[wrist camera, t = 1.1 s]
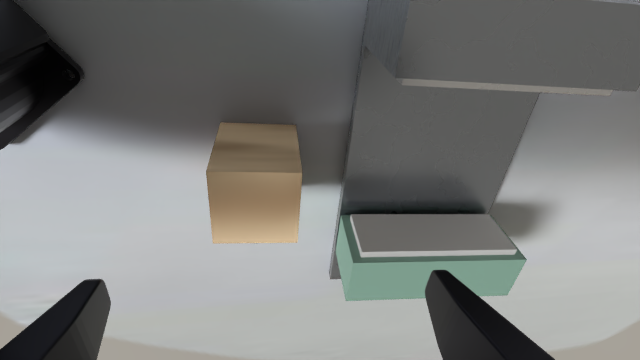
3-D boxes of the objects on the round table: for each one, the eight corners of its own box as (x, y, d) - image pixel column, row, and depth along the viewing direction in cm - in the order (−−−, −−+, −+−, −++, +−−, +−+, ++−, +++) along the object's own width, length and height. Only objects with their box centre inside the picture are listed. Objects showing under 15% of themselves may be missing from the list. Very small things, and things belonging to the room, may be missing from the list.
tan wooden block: (292, 185, 22) (297, 242, 18) (224, 184, 21) (213, 243, 17) (295, 124, 20) (302, 173, 16) (220, 122, 19) (206, 171, 15)
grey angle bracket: (458, 269, 28) (495, 335, 23) (329, 272, 26) (341, 343, 22) (604, -85, 16) (744, -98, 11) (384, -115, 14) (439, -143, 10)
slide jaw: (476, 249, 25) (507, 295, 22) (335, 251, 24) (346, 300, 21) (493, 210, 23) (529, 254, 20) (341, 210, 22) (354, 257, 19)
